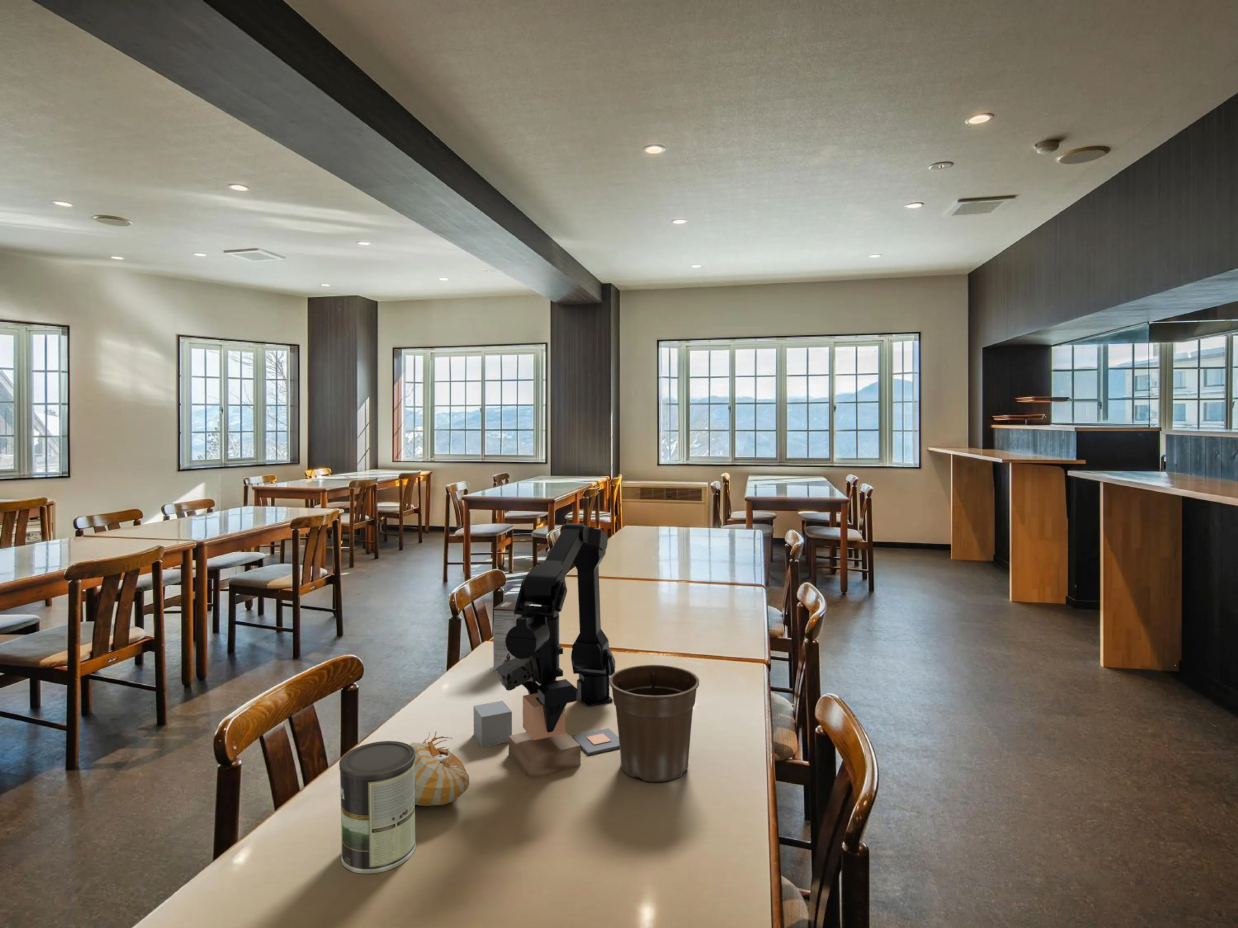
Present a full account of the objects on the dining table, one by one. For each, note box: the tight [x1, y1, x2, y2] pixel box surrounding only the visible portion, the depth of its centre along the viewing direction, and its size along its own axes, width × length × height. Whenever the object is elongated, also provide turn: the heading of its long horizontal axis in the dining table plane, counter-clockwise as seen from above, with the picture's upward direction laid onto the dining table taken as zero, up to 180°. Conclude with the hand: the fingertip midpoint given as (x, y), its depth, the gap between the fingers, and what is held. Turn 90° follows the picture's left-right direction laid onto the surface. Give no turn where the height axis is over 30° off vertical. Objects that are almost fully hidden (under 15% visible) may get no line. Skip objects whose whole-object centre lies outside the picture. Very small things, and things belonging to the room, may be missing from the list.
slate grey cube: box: [473, 700, 513, 748], centre depth 137 cm, size 6×6×6 cm
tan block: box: [508, 731, 582, 779], centre depth 128 cm, size 10×10×4 cm
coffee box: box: [492, 599, 529, 671], centre depth 179 cm, size 9×6×16 cm
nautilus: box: [409, 731, 470, 807], centre depth 117 cm, size 8×22×15 cm
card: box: [571, 727, 620, 756], centre depth 135 cm, size 8×8×1 cm
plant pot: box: [609, 664, 700, 783], centre depth 125 cm, size 16×16×16 cm
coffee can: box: [338, 740, 417, 875], centre depth 100 cm, size 10×10×14 cm
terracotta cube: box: [522, 693, 566, 740], centre depth 128 cm, size 6×6×6 cm
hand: (543, 724), depth 128 cm, fingers closed on terracotta cube, 6 cm apart
